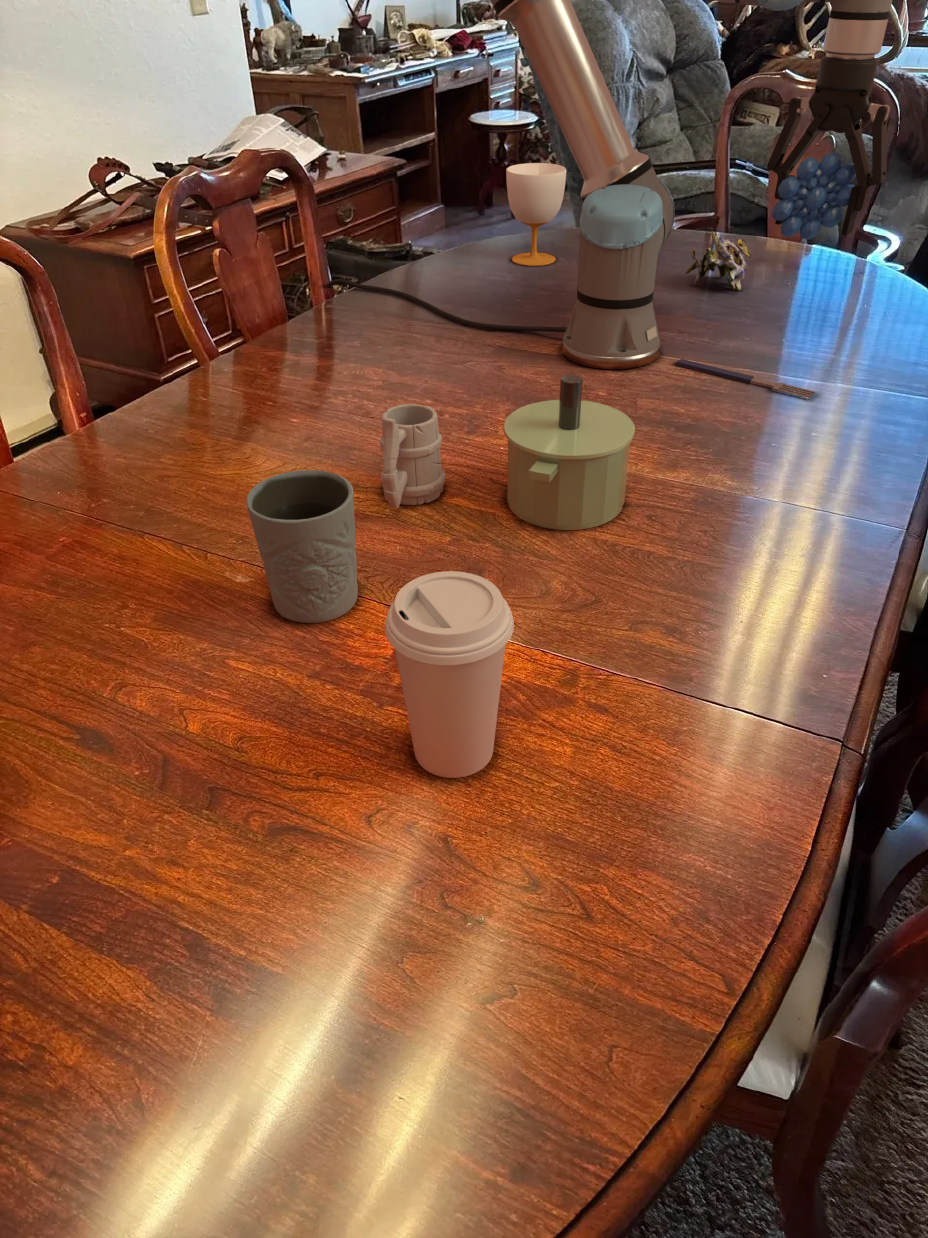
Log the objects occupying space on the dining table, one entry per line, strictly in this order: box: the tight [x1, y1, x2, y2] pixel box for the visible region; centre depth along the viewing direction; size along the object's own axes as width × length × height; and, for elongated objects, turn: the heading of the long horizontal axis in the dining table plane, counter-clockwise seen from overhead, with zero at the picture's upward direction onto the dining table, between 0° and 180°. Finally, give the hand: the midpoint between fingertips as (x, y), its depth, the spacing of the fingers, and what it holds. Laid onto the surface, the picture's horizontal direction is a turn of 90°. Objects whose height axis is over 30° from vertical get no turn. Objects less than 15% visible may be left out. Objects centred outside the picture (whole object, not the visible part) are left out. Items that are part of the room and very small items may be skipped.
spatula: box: [675, 358, 816, 400], centre depth 136 cm, size 21×3×1 cm, turn 51°
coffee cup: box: [384, 570, 515, 779], centre depth 71 cm, size 10×10×15 cm
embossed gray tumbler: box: [245, 469, 359, 624], centre depth 90 cm, size 10×10×12 cm
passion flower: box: [685, 231, 752, 292], centre depth 170 cm, size 11×11×12 cm
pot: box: [506, 439, 631, 531], centre depth 106 cm, size 14×19×9 cm
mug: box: [379, 403, 447, 510], centre depth 106 cm, size 8×12×12 cm, turn 162°
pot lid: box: [503, 374, 636, 460], centre depth 102 cm, size 15×15×7 cm
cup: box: [505, 162, 567, 267], centre depth 184 cm, size 12×12×17 cm
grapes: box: [771, 151, 856, 240], centre depth 137 cm, size 12×7×12 cm, turn 83°
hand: (813, 227), depth 140 cm, fingers closed on grapes, 9 cm apart
